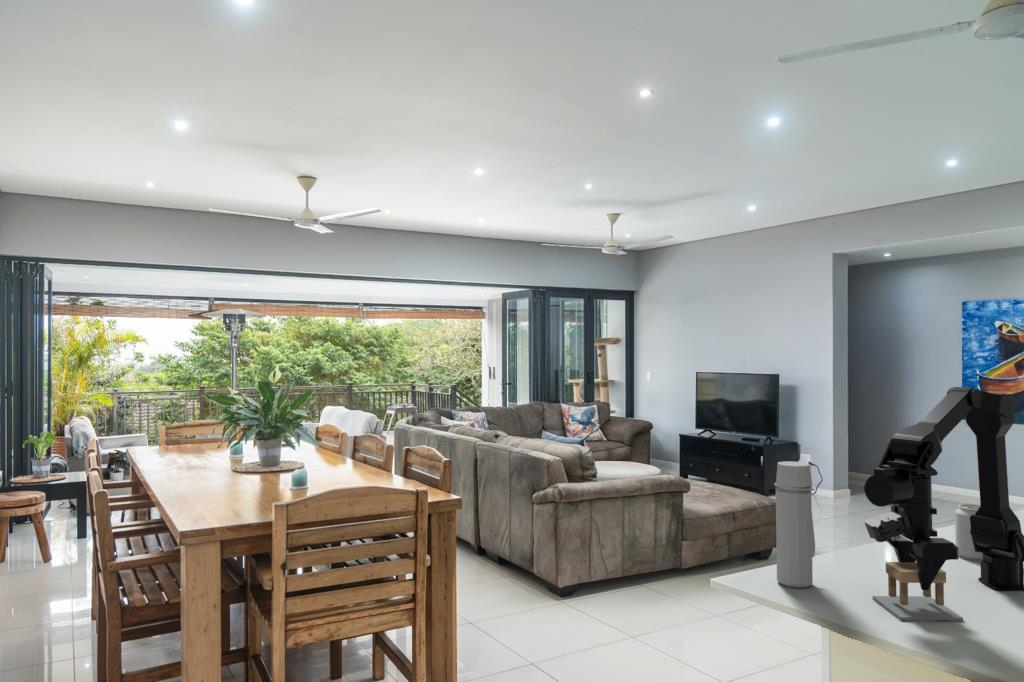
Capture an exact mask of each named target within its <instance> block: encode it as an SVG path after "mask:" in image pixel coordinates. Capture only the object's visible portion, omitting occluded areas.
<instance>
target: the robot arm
mask: <svg viewBox="0 0 1024 682" xmlns="http://www.w3.org/2000/svg"><path fill="white" fill-rule="evenodd" d="M1015 413H1016V403H1015V402H1014V399H1013V398H1011V397H1010V396H1009V395H1008V394H1007V393H998V392H988V391H983V390H981V389H977V388H975V387H969V386H968V387H967V386H965V387H963V386H954V387H950V388H948V390H947V392H946V395H945V396H944V397H943V398H942V399H941V400H940V401H939V402H938V403H937V404H936V405H934V407H933V408H932V410H930V411H929V412H928V413H927V414H926V415H925V416H924V417H923V418H922V419H921V420H920V421H918V423H916V424H912V425H909V426H906V427H903V428H902V429H900V430H899V431H897V432H895V433H894V434H893V435H892V437H891V438H890V440H889V442H888V443H887V444H888V445H887V447H886V449H885V452H884V453H883V456H882V458H881V460H880V462H879V465H878V467H875V468H874V469H873V475H870V476H869V477H868V478H867V480H866V481H865V483H864V486H863V489H864V494H865V496H866V498H867V500H868V501H869V502H870V503H871V504H872V505H874V506H876V507H879V508H880V507H883V508H884V507H889V506H890V512H886V513H882V514H878V515H877V516H873V517H870V518H868V519H865V520H864V525H865V528H866V530H867V533H868V536H869V538H871V539H873V540H875V541H876V542H877V543H884V542H886V543H887V544H888V545H889V546H890V547H892V548H893V550H894V553H895V555H896V558H897V562H917V567H918V574H919V581H920V583H919V584H920V589H921V590H922V591H923V590H928V589H929V587H930V586H931V587H932V584H933V583H932V582H933V580H934V579H935V577H936V575H937V573H938V572H939V570H940V569H941V568H942V567H943V566H944V565H945V563H946V561H949V560H950V561H951V560H952V561H953V560H956V561H957V560H958V559H960V555H959V548H958V547H957V546H956V543H954V542H952V541H950V540H948V539H945V538H944V537H938V531H937V530H935V529H934V528H933V515H937V514H938V510H937V508H936V507H933V501H932V500H933V498H932V496H933V495H932V494H933V492H932V477H933V476H937V475H938V474H939V473H938V472H939V471H937V470H936V469H935V468H933V467H932V465H933V464H935V463H936V461H937V459H938V458H939V456H940V455H941V453H942V452H943V445H942V443H943V441H944V439H945V438H946V437H947V436H948V435H949V434H950V433H951V432H952V431H953V430H954V429H955V428H956V427H957V425H958V424H960V423H961V421H963V419H964V418H965V424H966V425H967V426H968V428H969V429H970V430H971V432H972V433H973V434H974V436H975V440H976V441H975V443H976V457H977V473H978V485H979V486H978V487H979V488H978V490H979V505H980V507H979V509H978V510H977V512H976V513H975V514H974V515H971V517H970V524H971V530H970V534H971V537H972V541H973V545H974V549H975V552H981V553H983V561H980V577H978V579H977V580H978V582H979V581H980V582H981V583H983V584H985V585H986V586H989V587H990V588H992V589H994V590H998V591H1024V534H1023V533H1022V527H1021V521H1020V519H1019V517H1017V515H1016V514H1015V512H1014V510H1012V509H1011V506H1010V498H1009V497H1010V495H1009V481H1008V478H1009V477H1008V465H1007V464H1008V463H1007V448H1006V446H1007V445H1006V435H1007V434H1008V432H1009V431H1010V429H1011V428H1012V426H1013V425H1014V423H1015ZM941 570H942V569H941Z"/></svg>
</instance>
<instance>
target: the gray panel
mask: <svg viewBox="0 0 1024 682" xmlns="http://www.w3.org/2000/svg"><path fill="white" fill-rule="evenodd" d="M872 600H873V601H874V602H876V603H877V604H879V606H881V607H882V608H883V609H884V610H886V611H887V612H888V613H890V614H891V615H892V616H894V617H895V618H896V619H897V620H899V621H900V622H901V621H903V622H904V621H905V622H906V621H907V622H909V621H910V622H914V621H915V622H916V621H917V622H938V621H937V620H949V621H948V622H964V617H962V616H961V615H960V614H958V613H956V612H955V611H954V610H952V609H951V608H949V607H947V606H945V604H944V605H937V604H935V598H933V597H932V596H931V597H925V596H923V595H922V596H919V595H917V596H915V595H914V596H913V595H911V596H910V595H908V605H902V604H900V595H896V597H891V596H889V595H872ZM931 620H932V621H931ZM935 620H936V621H935Z"/></svg>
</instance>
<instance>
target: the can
mask: <svg viewBox="0 0 1024 682" xmlns="http://www.w3.org/2000/svg"><path fill="white" fill-rule="evenodd" d="M957 506H958V508H957V509H956V510H955V511H954V518H955V519H954V520H955V521H954V523H955V526H954V527H955V533H954V534H955V545H956V546H957V547H958V548H959V558H962V559H964V560H965V559H966V560H969V561H973V562H974V561H975V562H981V561H983V553H981V552H975V549H974V545H973V541H972V537H971V534H970V530H971V524H970V517H971V515H974V514H975V513H976V512H977V510H978V509H979V507H980V504H975V503H961V504H958V505H957Z"/></svg>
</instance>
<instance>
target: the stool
mask: <svg viewBox="0 0 1024 682" xmlns="http://www.w3.org/2000/svg"><path fill="white" fill-rule="evenodd" d="M885 573H886V574H887V577H888V578H887V581H888V584H887V585H888V586H887V587H888V588H887V589H888V596H891V597H896V596H897V581H898V583H899V596H900V604H902V605H908V596H909V584H920V581H919V574H918V567H917V561H916V562H899V561H889V562H888V561H885ZM946 583H947V572H946V571H945V570H943V569H940V570H939V572H938V573H937V575H936V577H935V579H934V580H933V582H932V584H934V595H935V597H934V599H935V604H937V605H944V606H945V595H944V594H945V592H944V589H945V588H944V585H945V584H946ZM922 596H925V597H932V585H931V586H930V587H929V589H928V590H922Z"/></svg>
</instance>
